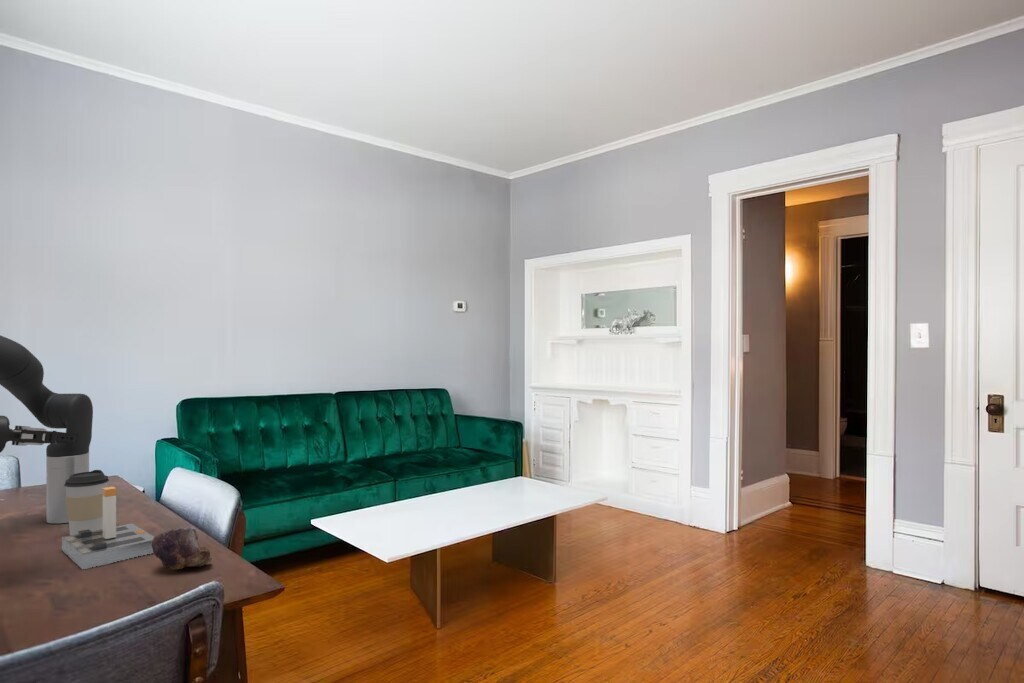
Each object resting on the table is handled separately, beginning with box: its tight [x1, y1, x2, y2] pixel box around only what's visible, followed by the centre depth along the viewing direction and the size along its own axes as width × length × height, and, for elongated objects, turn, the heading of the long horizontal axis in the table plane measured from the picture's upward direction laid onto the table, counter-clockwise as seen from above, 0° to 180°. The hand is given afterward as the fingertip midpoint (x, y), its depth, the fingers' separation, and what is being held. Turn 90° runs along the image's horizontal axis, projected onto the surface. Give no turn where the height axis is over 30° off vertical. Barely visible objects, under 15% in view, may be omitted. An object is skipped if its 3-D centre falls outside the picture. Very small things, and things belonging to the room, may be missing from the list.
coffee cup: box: [64, 469, 110, 535], centre depth 151 cm, size 9×9×15 cm
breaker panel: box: [61, 522, 155, 571], centre depth 138 cm, size 18×14×4 cm
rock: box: [152, 526, 213, 571], centre depth 128 cm, size 12×9×10 cm
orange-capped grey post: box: [102, 486, 117, 539], centre depth 138 cm, size 2×2×11 cm
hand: (70, 437), depth 133 cm, fingers open, 8 cm apart
